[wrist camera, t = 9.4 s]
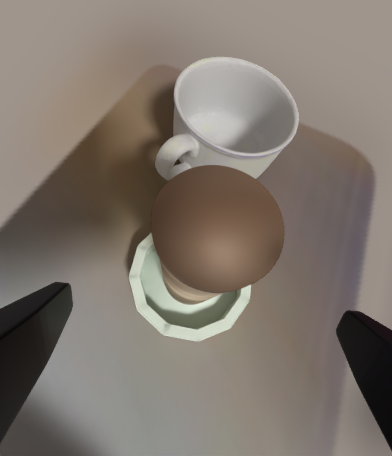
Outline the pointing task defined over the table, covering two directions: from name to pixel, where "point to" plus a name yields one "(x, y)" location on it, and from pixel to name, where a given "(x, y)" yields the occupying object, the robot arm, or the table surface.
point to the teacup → (228, 118)
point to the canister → (214, 232)
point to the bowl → (175, 311)
